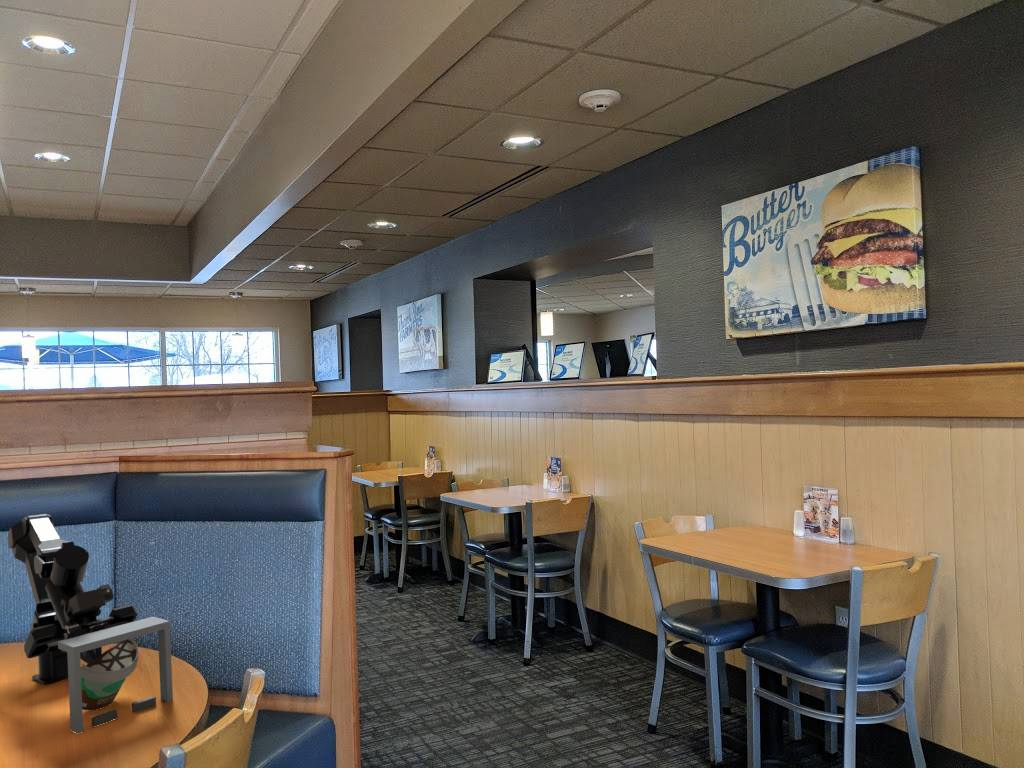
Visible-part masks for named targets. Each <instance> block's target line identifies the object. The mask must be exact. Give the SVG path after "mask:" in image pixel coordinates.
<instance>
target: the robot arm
mask: <svg viewBox="0 0 1024 768" xmlns="http://www.w3.org/2000/svg"><path fill="white" fill-rule="evenodd" d="M7 545H8V549H11V550H12V554H13V557H14V559H16V560H17V561H20V562H22V563H23V564H24V565H25V568H26V572H27V576H28V579H29V583H30V587H31V591H32V594H33V598H34V603H35V609H34V612H33V619H32V623H30V627H29V632H28V634H27V635H28V636H27V638H26V640H25V643H24V645H23V650H24V653H25V656H26V658H27V659H33V658H36V657H38V673H37V674H34V675H31V678H32V680H34V681H37V682H39V683H42V684H45V685H47V684H51V683H53V682H57V681H60V680H64V679H68V657H67V652H66V651H63V650H61V649H58V642H59V641H62V640H66V639H70V638H74V637H78V636H81V635H85V634H89V633H93V632H96V631H100V630H104V629H108V628H112V627H115V626H119V625H123V624H127V623H131V622H134V621H136V618H137V617H138V615H139V614H138V612H137V610H136V608H135V607H134V606H133V605H131V604H130V605H129V604H128V605H124V606H120V607H116V608H112V609H111V611H110V612H109V615H108V616H107V617H105V618H104V617H103V618H100V619H98V618H97V617H98V616H99V617H100V615H101V614H102V611H101V608H102V607H103V606H107V604H108V603H109V602H111V601H112V600H113V599H114V597H115V596H114V592H113V589H112V587H111V585H110V583H107V584H102V585H99V586H98V587H97V588H96V589H91V590H87V591H85V589H84V587H83V585H82V583H83V581H84V579H85V574H86V571H87V565H88V563H89V558H90V554H89V552H88V551H87V550H86V549H85V548H84V547H83V546H80V545H75V543H74V541H73V540H71V541H69V540H65V539H62V538H61V537H60V535H59V533H58V532H57V530H56V528H55V521H53V519H52V515H51V514H47V513H41V514H40V513H39V514H32V515H31V514H30V515H26V516H25V517H23V518H22V519H21V521H19V522H18V523H16V524H13V525H12V526H11V527H10V528H9V531H8V533H7ZM102 647H103V646H102ZM102 647H99V648H95V649H92V650H88V651H85V652H81V653H80V661H81V660H82V661H83V662H84V663H86V665H87V664H89V663H90V662H92V661H93V660H95V659H96V658H97V657H99V656H100V655H101V654H103V650H102V649H103V648H102Z"/></svg>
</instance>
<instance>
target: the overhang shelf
mask: <svg viewBox="0 0 1024 768" xmlns="http://www.w3.org/2000/svg"><path fill="white" fill-rule="evenodd" d="M170 624H171V621H170V620H167V619H164V618H161V617H156V616H150V617H147V618H142V619H140V620H139V619H138V620H135V621H134V622H131V623H127V624H123V625H119V626H115V627H112V628H108V629H104V630H100V631H96V632H93V633H89V634H85V635H81V636H78V637H74V638H70V639H66V640H62V641H59V642H58V649H61V650H63V651H66V652H67V657H68V677H67V679H68V681H67V682H68V698H69V699H68V700H69V701H68V702H69V703H68V705H69V726H70V729H71V730H72V731H74V732H76V733H80V734H82V733H81V732H83V733H84V716H83V715H84V714H83V711H84V710H82V687H81V667H82V664H81V659H80V653H81V652H85V651H88V650H92V649H95V648H99V647H106V646H108V645H109V646H110V645H113V644H118V643H120V642H122V641H124V640H127V639H131V638H132V639H134V638H137V637H142V636H145V635H148V634H152V633H156V632H157V641H158V643H157V644H158V665H159V685H160V686H159V687H160V689H159V690H160V700H161V699H162V701H165V702H167V703H168V702H172V701H174V696H173V694H174V693H173V692H174V691H173V673H172V672H173V670H172V669H173V667H172V648H171V647H172V646H171V625H170ZM156 706H157V697H156V696H154V695H152V696H149V697H146V698H143V699H140V700H137V701H135V702H132V703H131V713H133V712H134V713H133V714H136V713H138V712H141V711H144V710H148V709H150V708H152V707H156ZM135 712H136V713H135ZM118 714H119V713H118V710H117V709H112V710H109V711H106V712H103V713H100V714H96V715H94V716H91V719H90V720H91V726H92V725H93V726H97V725H100V724H103V723H105V724H107V723H106V722H108V723H110V722H109V721H111V720H113V719H116V718H118V717H119V716H118ZM118 719H119V718H118ZM111 722H112V721H111ZM103 725H104V724H103ZM100 726H101V725H100ZM97 727H98V726H97Z"/></svg>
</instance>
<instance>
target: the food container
mask: <svg viewBox="0 0 1024 768" xmlns="http://www.w3.org/2000/svg"><path fill="white" fill-rule="evenodd" d="M138 662H139V648H138V645H137V642H136V641H135V640H134V638H131V639H127V640H124V641H120V642H118V643H116V645H114V646H112V647H110V648H109V649H107V650H105V651H104V652H102V654H101V655H100V656H99V657H97V658H96V659H95V660H93V661H92V662H90V663H89V664H87V663H86V664H85V663H82V664H81V687H82V711H97V710H96V709H98V710H101V709H100V708H102V709H104V708H103V707H105V706H107V707H108V706H110V705H111V704H112V703H113V702H114V701H115V699H116V697H117V696H118V693H119V691H120V690H121V688H122V686H123V684H124V683H125V681H126V680H127V677H129V676H130V675H131V674H132V673H133V672H134V671H135V670H136V668H137V666H138ZM109 704H110V705H109ZM105 708H106V707H105Z"/></svg>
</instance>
